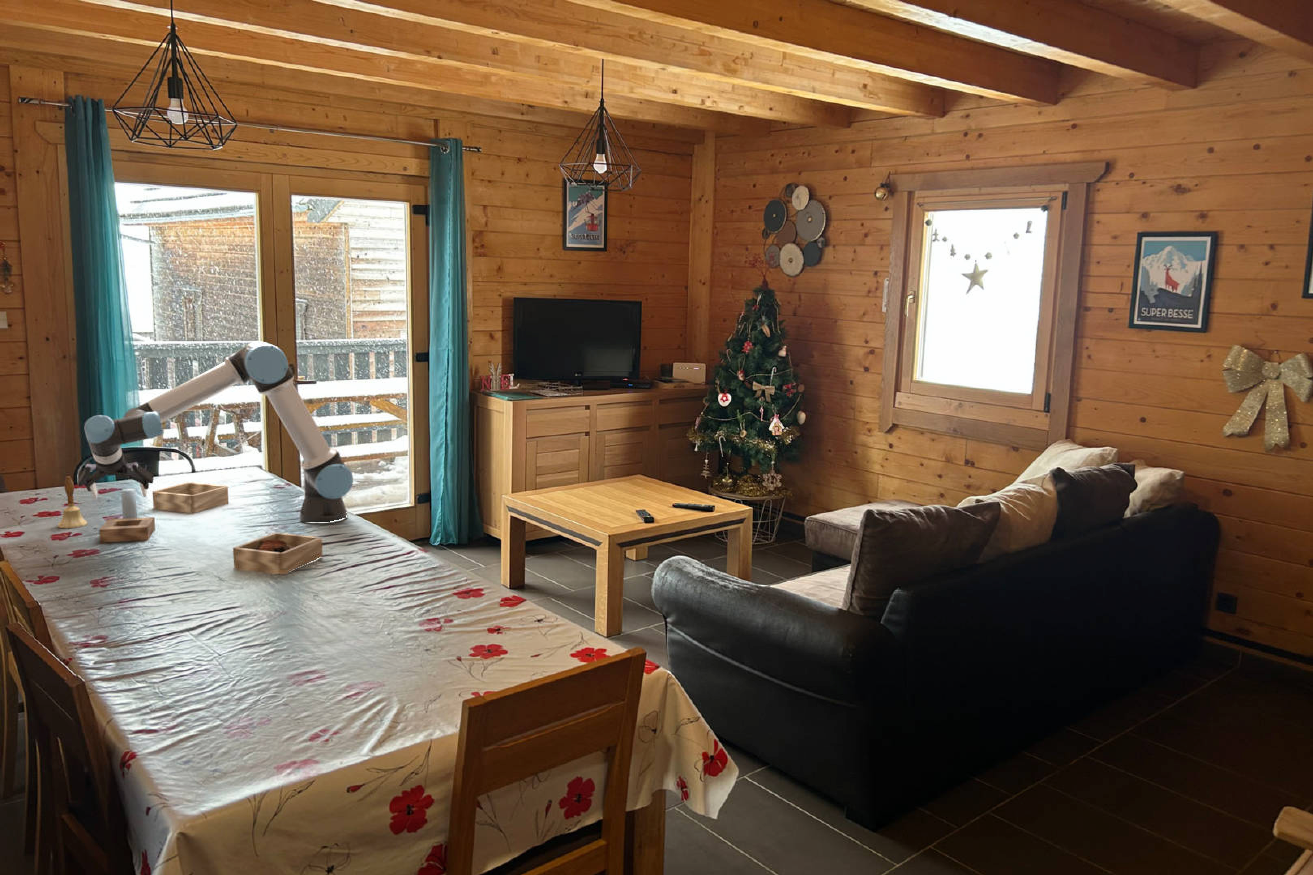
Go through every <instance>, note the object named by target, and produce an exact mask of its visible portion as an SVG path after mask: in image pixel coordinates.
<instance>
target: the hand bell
mask: <svg viewBox="0 0 1313 875" xmlns="http://www.w3.org/2000/svg"><path fill="white" fill-rule="evenodd" d="M63 486H64V491H65V493H66V498H67V507H66V508H64V509H63V511H62V512H63V513H62V518H61V521H60V522H59V523H58V524H57V527H58V528H60V529H75V528H81V527H85V526H87V525H88V524H89V523H88V521H87V520H85V519H84V517H83V516H82V514H81V510H80V507H77V506H76V505H75V501H74V492H75V484H74V481H73V480H72V477H71V476H70V475H68V476H65V480H64V485H63Z"/></svg>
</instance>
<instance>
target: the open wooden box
mask: <svg viewBox="0 0 1313 875" xmlns="http://www.w3.org/2000/svg"><path fill="white" fill-rule="evenodd" d="M264 540H281V541H284V542H286V543H287V545H286V546H289V547H290V549H289V550H287V551H284V552H282V553H280V552H271V551H263V550H256V548H257V547H258V546H259V545H260V544H259V542H260V541H264ZM232 554H233V569H235V570H236V569H237V571H243V570H246V571H245V572H251V571H253V573H259V572H261V574H267V573H269V575H275V574H280V575H282V574H285V575H287V574H289V573H288V572H289V571H291V570H293V569H296V568H298V567H300V566H302V565H305V564H307V563H309V562H311V561H314V560H316V559H317V558H319V557H321V556H322V557H323V538H322V537H319V536H311V535H304V534H302V535H301V534H293V533H286V532H284V533H283V532H272V533H269V534H267V535H264V536H261V537H259V538H256V539H254V540H251V541H248V542H245V543H242V544H240V545H236V546H234V547H233V551H232ZM286 573H287V574H286Z"/></svg>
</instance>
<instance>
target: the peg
mask: <svg viewBox="0 0 1313 875" xmlns="http://www.w3.org/2000/svg"><path fill="white" fill-rule="evenodd" d="M120 493H121V494H120V496H121V512H122V513H121V514H122V519H126V518H138V514H137V513H138V511H137V510H138V509H137V495H136V489H135V488H124V489H121V490H120Z"/></svg>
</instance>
